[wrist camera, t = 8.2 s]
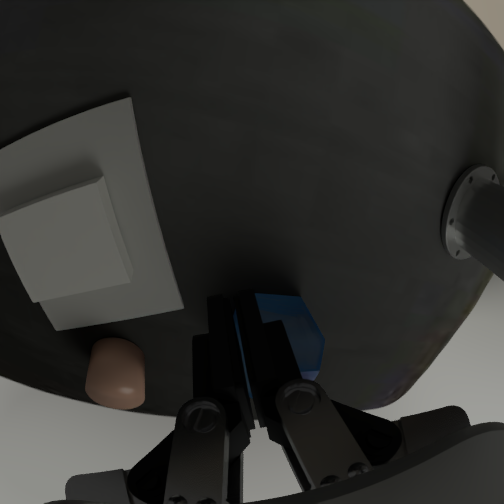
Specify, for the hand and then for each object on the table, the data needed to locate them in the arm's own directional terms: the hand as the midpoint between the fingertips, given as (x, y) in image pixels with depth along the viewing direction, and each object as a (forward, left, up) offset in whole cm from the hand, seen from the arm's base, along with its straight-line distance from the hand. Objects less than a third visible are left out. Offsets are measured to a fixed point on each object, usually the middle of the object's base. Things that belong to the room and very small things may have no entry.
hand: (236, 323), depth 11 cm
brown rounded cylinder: (+13, +14, -13) cm, 23 cm away
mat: (+11, 0, -13) cm, 17 cm away
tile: (+7, 0, -12) cm, 14 cm away
